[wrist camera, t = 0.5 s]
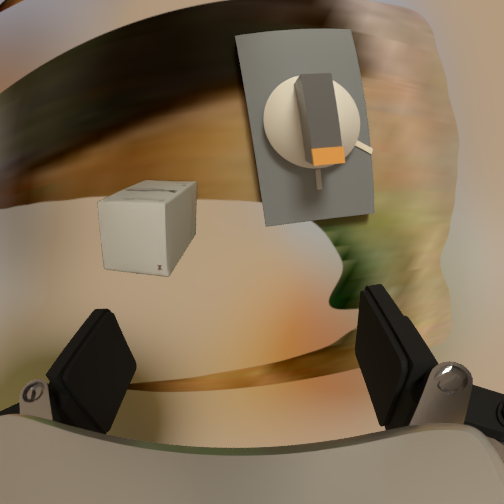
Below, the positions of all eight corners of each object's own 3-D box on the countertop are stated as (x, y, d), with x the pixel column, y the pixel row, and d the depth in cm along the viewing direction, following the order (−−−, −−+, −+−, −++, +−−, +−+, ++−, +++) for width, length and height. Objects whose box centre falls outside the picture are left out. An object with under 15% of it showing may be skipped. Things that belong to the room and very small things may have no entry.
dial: (256, 81, 28) (255, 68, 22) (349, 75, 27) (369, 63, 21) (270, 172, 32) (273, 181, 26) (361, 163, 31) (383, 170, 25)
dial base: (236, 41, 28) (234, 35, 26) (348, 34, 26) (353, 29, 24) (265, 221, 37) (265, 227, 35) (370, 209, 35) (376, 213, 33)
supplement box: (198, 180, 35) (168, 203, 23) (196, 235, 38) (169, 280, 26) (144, 177, 35) (95, 199, 23) (145, 230, 38) (102, 271, 26)
